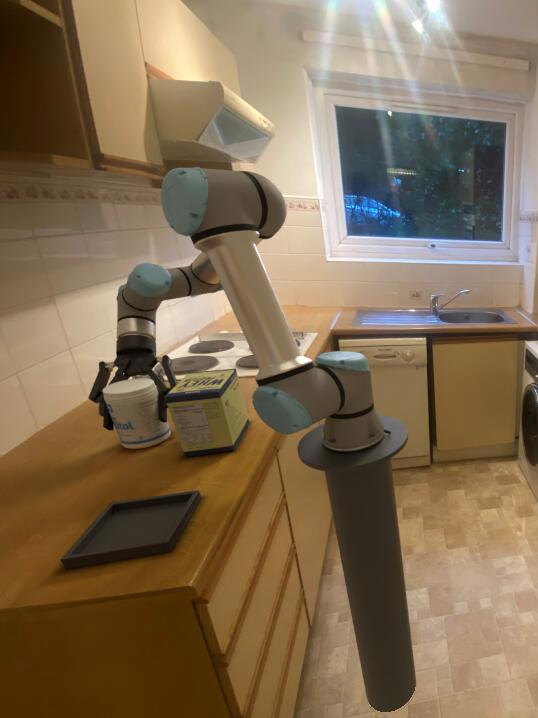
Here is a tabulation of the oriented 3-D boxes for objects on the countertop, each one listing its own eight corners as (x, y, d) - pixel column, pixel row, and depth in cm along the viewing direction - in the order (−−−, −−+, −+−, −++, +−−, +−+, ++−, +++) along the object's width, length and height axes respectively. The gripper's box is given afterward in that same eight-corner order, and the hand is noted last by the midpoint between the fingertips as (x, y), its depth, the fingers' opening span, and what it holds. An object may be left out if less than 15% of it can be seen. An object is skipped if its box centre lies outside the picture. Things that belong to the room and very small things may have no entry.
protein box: (250, 421, 116) (236, 367, 110) (235, 451, 102) (218, 391, 96) (205, 427, 113) (188, 371, 107) (183, 458, 99) (163, 396, 93)
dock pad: (201, 498, 86) (199, 489, 85) (171, 551, 73) (167, 541, 72) (113, 511, 82) (109, 502, 81) (65, 569, 69) (60, 559, 68)
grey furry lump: (180, 371, 139) (157, 360, 125) (180, 404, 137) (156, 397, 123) (137, 373, 136) (108, 362, 122) (136, 407, 134) (106, 400, 120)
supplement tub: (112, 449, 102) (88, 392, 96) (145, 430, 110) (125, 376, 105) (151, 451, 101) (130, 394, 96) (182, 431, 110) (164, 377, 104)
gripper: (194, 343, 115) (198, 421, 108) (88, 353, 107) (84, 438, 100) (184, 328, 109) (187, 411, 102) (70, 338, 101) (64, 428, 94)
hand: (136, 424), depth 101 cm, fingers closed on supplement tub, 10 cm apart
